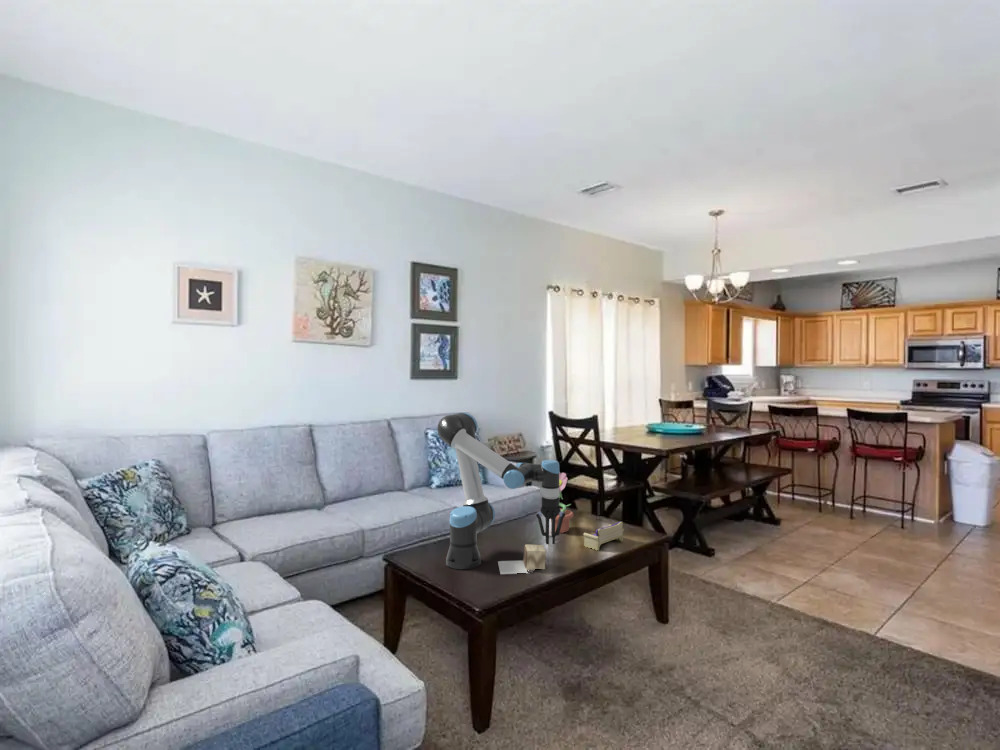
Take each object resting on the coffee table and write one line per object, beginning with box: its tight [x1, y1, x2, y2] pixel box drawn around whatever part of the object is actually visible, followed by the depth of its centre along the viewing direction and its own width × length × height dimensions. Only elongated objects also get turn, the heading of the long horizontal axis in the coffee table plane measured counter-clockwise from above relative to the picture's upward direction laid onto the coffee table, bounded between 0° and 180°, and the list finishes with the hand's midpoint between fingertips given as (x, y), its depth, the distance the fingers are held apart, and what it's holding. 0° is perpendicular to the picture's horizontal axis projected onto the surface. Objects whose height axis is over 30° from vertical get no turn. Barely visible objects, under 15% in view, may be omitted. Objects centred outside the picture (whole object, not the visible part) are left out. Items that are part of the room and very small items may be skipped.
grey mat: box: [497, 559, 529, 575], centre depth 238 cm, size 14×14×1 cm
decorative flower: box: [555, 472, 574, 534], centre depth 288 cm, size 15×14×30 cm
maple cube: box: [522, 544, 547, 571], centre depth 239 cm, size 8×8×8 cm
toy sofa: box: [583, 521, 625, 552], centre depth 268 cm, size 21×9×10 cm, turn 133°
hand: (550, 551), depth 240 cm, fingers closed
